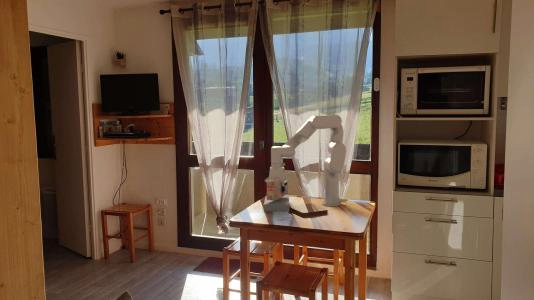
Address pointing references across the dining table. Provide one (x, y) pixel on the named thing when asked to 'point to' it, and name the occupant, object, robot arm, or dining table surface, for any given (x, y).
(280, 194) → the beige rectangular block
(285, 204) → the grey box
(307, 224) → the dining table surface
